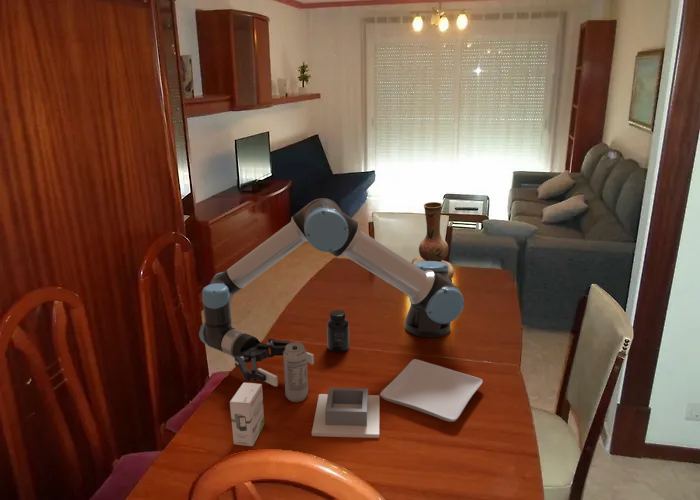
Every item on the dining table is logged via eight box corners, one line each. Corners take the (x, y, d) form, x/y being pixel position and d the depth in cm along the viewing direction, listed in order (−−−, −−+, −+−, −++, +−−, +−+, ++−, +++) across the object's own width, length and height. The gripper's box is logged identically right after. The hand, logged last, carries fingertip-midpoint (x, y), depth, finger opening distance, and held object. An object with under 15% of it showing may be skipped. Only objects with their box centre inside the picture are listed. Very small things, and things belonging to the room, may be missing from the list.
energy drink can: (307, 389, 146) (305, 340, 141) (309, 401, 140) (307, 351, 135) (284, 391, 145) (282, 342, 140) (286, 404, 139) (283, 353, 134)
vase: (390, 289, 212) (392, 203, 201) (417, 273, 229) (419, 192, 218) (445, 303, 199) (449, 212, 188) (468, 284, 216) (474, 200, 205)
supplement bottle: (352, 345, 169) (352, 310, 165) (343, 355, 163) (343, 319, 159) (333, 340, 172) (332, 306, 168) (323, 350, 166) (322, 315, 162)
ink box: (246, 422, 132) (242, 380, 128) (265, 424, 131) (262, 382, 128) (232, 444, 124) (228, 401, 121) (253, 447, 123) (249, 403, 120)
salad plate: (455, 431, 129) (455, 419, 127) (377, 404, 139) (377, 393, 138) (483, 389, 146) (484, 378, 144) (413, 368, 156) (413, 357, 155)
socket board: (379, 398, 141) (379, 382, 140) (379, 437, 126) (379, 420, 124) (319, 397, 142) (318, 380, 140) (311, 436, 127) (311, 418, 125)
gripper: (274, 341, 162) (326, 363, 150) (206, 376, 144) (260, 404, 131) (272, 318, 160) (326, 339, 147) (204, 351, 142) (258, 378, 129)
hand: (295, 370), depth 139 cm, fingers open, 13 cm apart
